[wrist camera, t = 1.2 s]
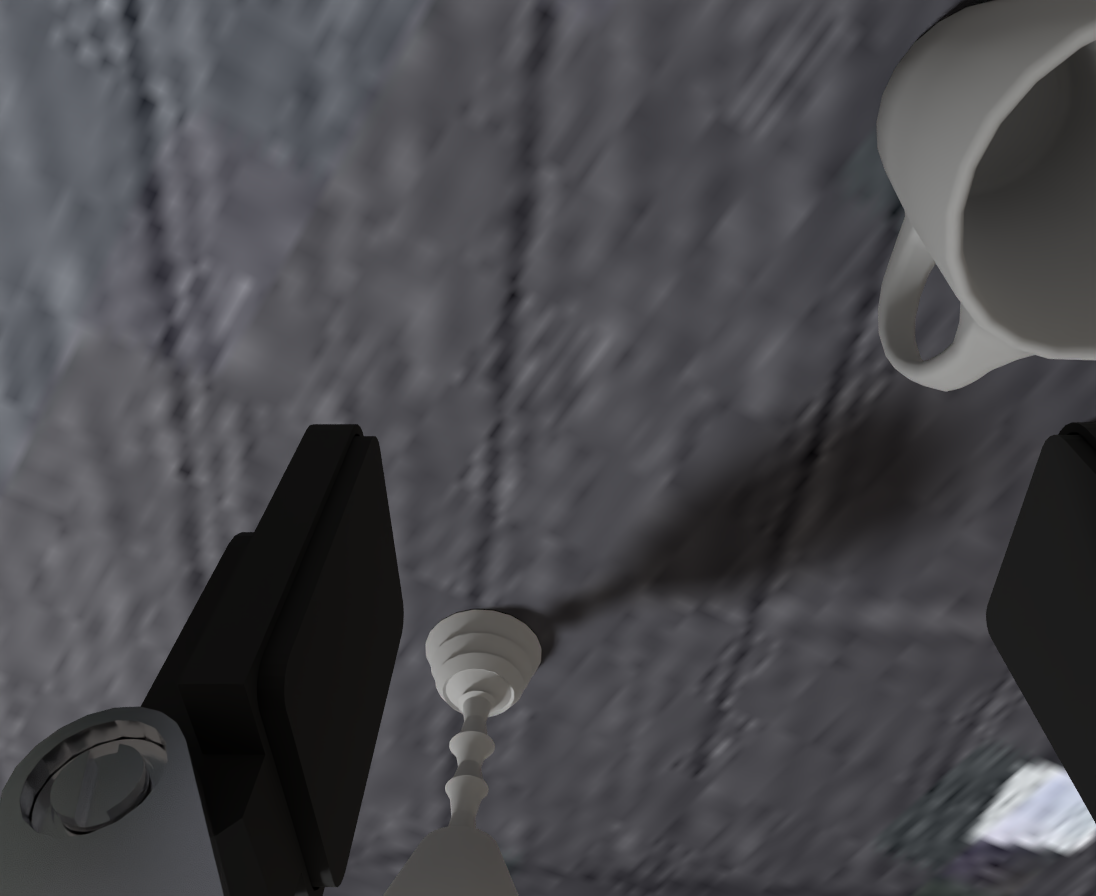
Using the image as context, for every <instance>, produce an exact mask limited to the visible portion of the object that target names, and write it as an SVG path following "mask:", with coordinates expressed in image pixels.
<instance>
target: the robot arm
mask: <svg viewBox="0 0 1096 896" xmlns="http://www.w3.org/2000/svg"><path fill="white" fill-rule="evenodd" d="M403 617H404V611H403V599H402V593H401V586H400V579H399V573H398V566H397V559H396V553H395V546H394V539H393V532H392V526H391V519H390V512H389V506H388V499H387V492H386V486H385V479H384V472H383V466H382V459H381V452H380V446H379V442H378V439H377V438H376V437H375V436H363V432H362V430H361V427H360V426H359V425H358V424H313V425H310V426H309V427H308V429H307V430H306V432H305V434H304V436H303V438H302V440H301V442H300V444H299V446H298V448H297V450H296V452H295V453H294V455H293V457H292V459H291V461H290V463H289V465H288V467H287V469H286V471H285V473H284V475H283V477H282V479H281V481H280V483H279V485H278V487H277V489H276V491H275V493H274V495H273V497H272V499H271V500H270V502H269V504H268V506H267V508H266V510H265V512H264V514H263V516H262V518H261V520H260V522H259V524H258V526H257V528H256V530H255V532H241V533H239V534H237V535H235V536H234V538H233V539H232V540H231V542H230V543H229V544H228V546H227V548H226V550H225V552H224V554H223V555H222V557H221V559H220V561H219V563H218V565H217V567H216V568H215V570H214V572H213V574H212V576H211V578H210V579H209V581H208V583H207V585H206V587H205V589H204V591H203V592H202V594H201V596H200V598H199V600H198V602H197V603H196V605H195V607H194V609H193V611H192V613H191V615H190V616H189V618H188V620H187V622H186V624H185V626H184V628H183V629H182V631H181V633H180V635H179V637H178V639H177V640H176V642H175V644H174V646H173V648H172V650H171V652H170V653H169V655H168V657H167V659H166V661H165V663H164V665H163V666H162V668H161V670H160V672H159V674H158V676H157V677H156V679H155V681H154V683H153V685H152V687H151V689H150V690H149V692H148V694H147V696H146V698H145V700H144V701H143V703H142V705H141V707H120V708H112V709H108V710H105V711H101V712H97V713H93V714H90V715H87V716H85V717H82V718H80V719H78V720H76V721H74V722H72V723H70V724H68V725H66V726H64V727H62V728H60V729H58V730H57V731H56V732H54V733H53V734H52V735H50V736H49V737H47V738H46V739H45V740H43V741H42V742H40V743H39V744H38V745H36V746H35V747H34V748H33V749H32V750H31V752H30V753H29V754H28V755H27V756H26V757H25V758H24V759H23V760H22V761H21V762H20V763H19V764H18V765H17V766H16V768H15V769H14V771H13V773H12V775H11V776H10V778H9V780H8V782H7V783H6V785H5V787H4V789H3V790H2V795H1V800H0V896H323V892H324V888H325V887H338V886H339V885H340V884H341V882H342V880H343V877H344V874H345V870H346V866H347V862H348V858H349V854H350V849H351V845H352V841H353V837H354V832H355V828H356V824H357V820H358V816H359V811H360V807H361V803H362V799H363V795H364V790H365V786H366V782H367V778H368V774H369V769H370V765H371V761H372V757H373V753H374V748H375V744H376V740H377V736H378V732H379V727H380V723H381V719H382V715H383V711H384V706H385V702H386V698H387V694H388V690H389V685H390V681H391V677H392V673H393V669H394V664H395V660H396V656H397V652H398V648H399V643H400V639H401V635H402V629H403ZM986 621H987V627H988V631H989V634H990V636H991V639H992V640H993V642H994V644H995V646H996V647H997V649H998V651H999V653H1000V655H1001V656H1002V658H1003V660H1004V662H1005V663H1006V665H1007V667H1008V669H1009V671H1010V672H1011V674H1012V676H1013V678H1014V679H1015V681H1016V683H1017V685H1018V686H1019V688H1020V690H1021V692H1022V694H1023V695H1024V697H1025V699H1026V701H1027V702H1028V704H1029V706H1030V708H1031V709H1032V711H1033V713H1034V715H1035V717H1036V718H1037V720H1038V722H1039V724H1040V725H1041V727H1042V729H1043V731H1044V733H1045V734H1046V736H1047V738H1048V740H1049V741H1050V743H1051V745H1052V747H1053V748H1054V750H1055V752H1056V754H1057V756H1058V757H1059V759H1060V761H1061V763H1062V764H1063V766H1064V768H1065V770H1066V772H1067V773H1068V775H1069V777H1070V779H1071V780H1072V782H1073V784H1074V786H1075V787H1076V789H1077V791H1078V793H1079V795H1080V796H1081V798H1082V800H1083V802H1084V803H1085V805H1086V807H1087V809H1088V810H1089V812H1090V814H1091V816H1092V818H1093V819H1094V821H1095V823H1096V422H1077V423H1070V424H1068V425H1066V426H1065V427H1064V428H1063V429H1062V430H1061V431H1060V433H1059V435H1053V436H1050V437H1049V438H1048V439H1047V440H1046V441H1045V443H1044V445H1043V447H1042V450H1041V453H1040V456H1039V459H1038V462H1037V465H1036V467H1035V470H1034V473H1033V476H1032V479H1031V482H1030V485H1029V488H1028V490H1027V493H1026V496H1025V499H1024V502H1023V505H1022V508H1021V511H1020V513H1019V516H1018V519H1017V522H1016V525H1015V528H1014V531H1013V534H1012V536H1011V539H1010V542H1009V545H1008V548H1007V551H1006V554H1005V557H1004V559H1003V562H1002V565H1001V568H1000V571H999V574H998V577H997V580H996V582H995V585H994V588H993V591H992V594H991V597H990V600H989V603H988V606H987V611H986Z"/></svg>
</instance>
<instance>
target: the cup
mask: <svg viewBox="0 0 1096 896" xmlns="http://www.w3.org/2000/svg"><path fill="white" fill-rule="evenodd" d="M876 123H877V148H878V151H879V154H880V157H881V160H882V163H883V166H884V169H885V172H886V174H887V176H888V178H889V180H890V182H891V184H892V186H893V188H894V190H895V192H896V194H897V196H898V198H899V200H900V202H901V204H902V206H903V208H904V210H905V218H904V221H903V224H902V226H901V229H900V232H899V235H898V237H897V240H896V243H895V246H894V249H893V252H892V255H891V258H890V261H889V264H888V267H887V270H886V273H885V276H884V279H883V282H882V286H881V293H880V300H879V307H878V323H879V335H880V338H881V342H882V345H883V348H884V352H885V355H886V357H887V358H888V360H889V361H890V362H891V364H892V365H893V367H894V368H895V369H896V370H898V371H899V372H900V373H902V374H903V375H904V376H905V377H907V378H908V379H910V380H912V381H914V382H916V383H919V384H921V385H923V386H927V387H930V388H934V389H938V390H942V391H946V392H947V391H951V390H955V389H959V388H962V387H964V386H966V385H968V384H970V383H972V382H974V381H976V380H978V379H979V378H981V377H982V376H984V375H985V374H986V373H988V372H989V371H991V370H993V369H996V368H998V367H1001V366H1003V365H1005V364H1008V363H1010V362H1013V361H1015V360H1018V359H1021V358H1025V357H1028V356H1032V355H1038V356H1041V357H1045V358H1048V359H1072V360H1096V0H993V1H989V2H985V3H981V4H977V5H973V6H969V7H966V8H964V9H962V10H960V11H959V12H957V13H955V14H953V15H951V16H949V17H947V18H945V19H944V20H942V21H940V22H938V23H937V24H936V25H935V26H934V27H932V28H931V29H930V30H929V31H928V32H927V33H925V34H924V35H923V36H922V37H921V38H920V39H918V40H917V41H916V42H915V43H914V44H913V45H912V47H911V48H910V49H909V51H908V52H907V53H906V55H905V56H904V57H903V58H902V60H901V61H900V62H899V64H898V65H897V66H896V68H895V70H894V72H893V74H892V76H891V78H890V80H889V82H888V84H887V86H886V89H885V91H884V93H883V95H882V99H881V104H880V109H879V113H878V118H877V122H876ZM935 264H937V266H938V268H939V269H940V271H941V272H942V274H943V276H944V277H945V279H946V280H947V282H948V284H949V285H950V287H951V288H952V290H953V292H954V293H955V295H956V296H957V298H958V299H959V300H960V302H961V306H960V322H959V326H958V329H957V332H956V336H955V339H954V342H953V343H952V344H951V345H950V346H949V347H948V348H947V349H945V350H944V351H943V352H942V353H940V354H938V355H937V356H935V357H933V358H932V359H930V360H927V361H923V360H922V359H921V358H920V354H919V351H918V348H917V344H916V341H915V318H916V313H917V309H918V304H919V300H920V296H921V293H922V291H923V288H924V285H925V283H926V280H927V278H928V275H929V274H930V272H931V271H932V269H933V267H934V266H935Z"/></svg>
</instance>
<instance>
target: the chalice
mask: <svg viewBox="0 0 1096 896" xmlns="http://www.w3.org/2000/svg"><path fill="white" fill-rule="evenodd" d="M541 651H542V649H541V646H540V643H539V641H538V638H537V636H536V635H535V634H534V633H533V632H532V630H531V629H530V628H529V627H528V626H527V625H526V624H524V623H523V622H521V621H519V620H518V619H516V618H514V617H513V616H511V615H507V614H504V613H500V612H497V611H493V610H470V611H465V612H459V613H455V614H453V615H451V616H449V617H447V618H445V619H443V620H441V621H440V622H439V623H438V624H437V625H436V626H435V627H434V628H433V629H432V630H431V631H430V634H429V636H428V639H427V641H426V657H427V659H428V661H429V663H430V665H431V672H432V675H433V677H434V679H435V681H436V688H437V690H438V692H439V694H440V696H441V697H442V698H443V699H444V700H445V701H446V702H447V703H448V704H449V705H450V706H451V707H452V708H453V709H454V710H456V711H458V712H460V713H462V714H464V724H463V727H462V729H461V732H460V733H459V734H457V735H455V736H454V737H453V738H452V739H451V741H450V750H451V752H452V753H453V754H454V755H455V756H456V757H457V762H458V768H457V771H456V773H455V775H454V777H453V778H452V779H450V780H449V781H448V782H447V784H446V786H445V791H446V793H447V795H448V796H449V798H450V803H451V816H452V817H451V820H450V823H449V826H448V827H444V828H440V829H437V830H435V831H433V832H430V833H429V834H428V835H427V836H426V837H425V838H423V840H422V841H421V843H420V844H419V845H418V847H417V848H416V850H415V851H414V852H413V854H412V855H411V857H410V858H409V860H408V861H407V862H406V864H405V865H404V867H403V868H402V869H401V871H400V872H399V874H398V875H397V876H396V878H395V879H394V881H393V882H392V884H391V885H390V886H389V888H388V889H387V891H386V892H385V893H384V895H383V896H518V893H517V891H516V888H515V886H514V883H513V881H512V879H511V876H510V874H509V871H508V869H507V867H506V864H505V862H504V859H503V857H502V854H501V852H500V850H499V847H498V845H497V843H496V841H495V840H494V839H493V838H492V837H491V836H490V835H489V834H487V833H485V832H483V831H481V830H479V829H476V823H475V817H476V814H477V811H478V808H479V805H480V802H481V800H482V799H483V798H484V797H486V795H487V793H488V786H487V784H486V782H485V781H484V779H483V776H482V771H481V766H482V764H483V762H484V759H486V758H488V757H489V756H490V755H491V754H492V753H493V751H494V749H495V744H494V742H493V740H492V739H491V738H490V737H489V736H488V735H487V729H486V721H487V718H488V717H490V716H496V715H498V714H500V713H503V712H505V711H506V710H507V709H509V708H510V707H511V706H512V705H513V704H515V703H516V702H517V701H518V700H519V699H520V697H521V695H522V693H523V691H524V689H525V688H526V687H527V685H528V683H529V681H530V679H531V677H532V676H533V675H534V674H535V672H536V670H537V668H538V666H539V665H540V663H541Z"/></svg>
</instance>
